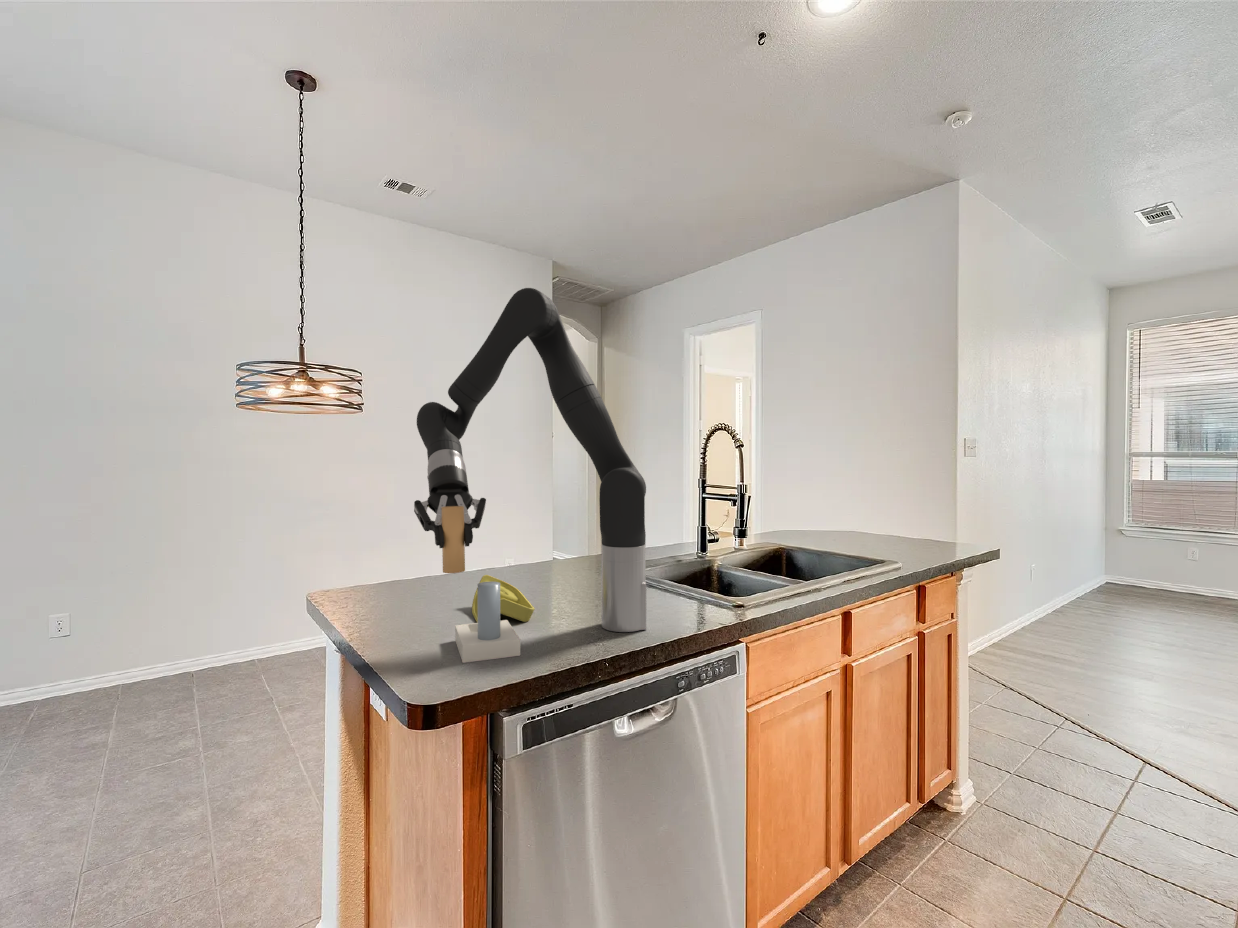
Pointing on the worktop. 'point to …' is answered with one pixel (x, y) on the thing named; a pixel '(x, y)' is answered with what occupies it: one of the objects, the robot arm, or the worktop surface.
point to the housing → (487, 630)
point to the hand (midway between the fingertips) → (454, 544)
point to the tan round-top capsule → (453, 539)
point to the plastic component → (507, 601)
